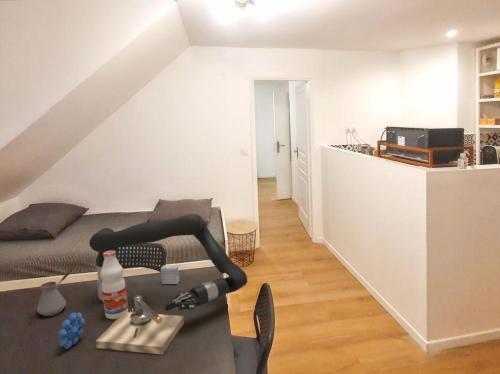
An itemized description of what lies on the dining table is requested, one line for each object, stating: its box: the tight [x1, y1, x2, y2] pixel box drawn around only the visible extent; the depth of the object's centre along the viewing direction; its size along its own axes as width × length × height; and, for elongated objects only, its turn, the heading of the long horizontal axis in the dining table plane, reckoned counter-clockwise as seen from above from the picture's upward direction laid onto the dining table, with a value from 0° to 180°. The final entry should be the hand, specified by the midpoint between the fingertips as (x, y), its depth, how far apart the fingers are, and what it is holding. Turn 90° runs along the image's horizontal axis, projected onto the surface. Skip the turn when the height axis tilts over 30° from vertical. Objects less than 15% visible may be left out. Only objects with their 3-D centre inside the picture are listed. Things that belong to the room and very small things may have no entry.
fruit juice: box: [100, 250, 129, 320], centre depth 152 cm, size 9×9×28 cm
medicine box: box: [160, 264, 180, 285], centre depth 181 cm, size 8×4×9 cm, turn 84°
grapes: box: [58, 312, 85, 350], centre depth 134 cm, size 12×7×12 cm, turn 161°
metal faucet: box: [130, 294, 162, 325], centre depth 136 cm, size 23×8×9 cm, turn 38°
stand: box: [95, 311, 185, 355], centre depth 138 cm, size 26×20×3 cm
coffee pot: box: [36, 266, 76, 317], centre depth 163 cm, size 21×12×15 cm, turn 162°
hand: (165, 307), depth 136 cm, fingers closed
